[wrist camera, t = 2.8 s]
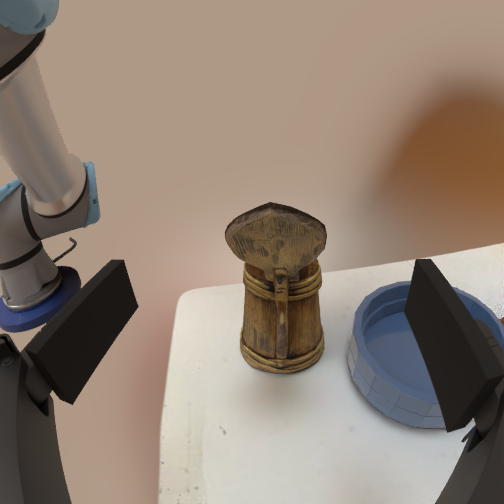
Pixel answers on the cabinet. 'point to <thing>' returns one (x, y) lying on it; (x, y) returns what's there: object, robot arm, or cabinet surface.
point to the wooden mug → (279, 286)
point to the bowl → (400, 356)
